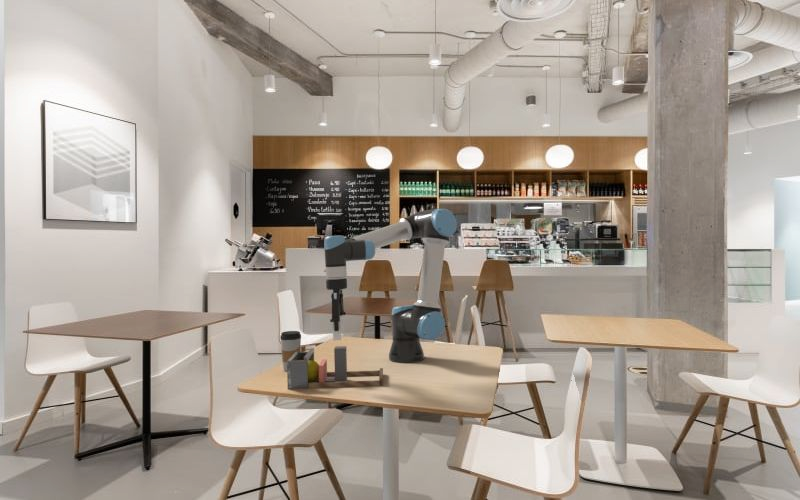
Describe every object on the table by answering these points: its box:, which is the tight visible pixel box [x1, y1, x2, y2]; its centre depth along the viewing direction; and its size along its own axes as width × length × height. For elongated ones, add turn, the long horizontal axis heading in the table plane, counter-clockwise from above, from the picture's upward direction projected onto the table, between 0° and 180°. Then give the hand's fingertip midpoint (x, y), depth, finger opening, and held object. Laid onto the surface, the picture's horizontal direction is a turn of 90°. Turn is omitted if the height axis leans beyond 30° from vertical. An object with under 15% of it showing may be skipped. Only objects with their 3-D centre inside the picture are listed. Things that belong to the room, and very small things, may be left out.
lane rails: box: [307, 367, 384, 389], centre depth 174 cm, size 26×15×2 cm, turn 92°
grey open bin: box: [286, 347, 315, 389], centre depth 174 cm, size 7×16×11 cm, turn 2°
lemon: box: [308, 360, 320, 383], centre depth 172 cm, size 11×8×8 cm
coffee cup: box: [279, 330, 302, 372], centre depth 193 cm, size 8×8×15 cm
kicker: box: [318, 345, 348, 382], centre depth 174 cm, size 9×10×12 cm
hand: (339, 336), depth 174 cm, fingers open, 13 cm apart
